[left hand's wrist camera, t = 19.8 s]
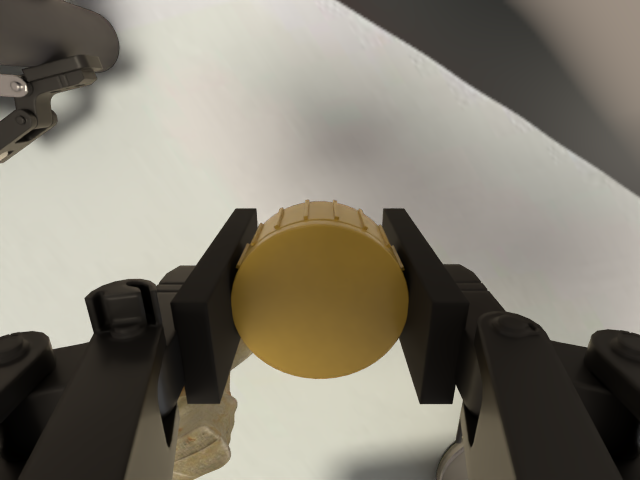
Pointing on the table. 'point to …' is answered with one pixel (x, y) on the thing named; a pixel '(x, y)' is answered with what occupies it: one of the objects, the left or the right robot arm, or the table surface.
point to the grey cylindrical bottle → (53, 33)
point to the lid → (319, 291)
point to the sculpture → (206, 430)
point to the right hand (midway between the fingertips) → (74, 17)
